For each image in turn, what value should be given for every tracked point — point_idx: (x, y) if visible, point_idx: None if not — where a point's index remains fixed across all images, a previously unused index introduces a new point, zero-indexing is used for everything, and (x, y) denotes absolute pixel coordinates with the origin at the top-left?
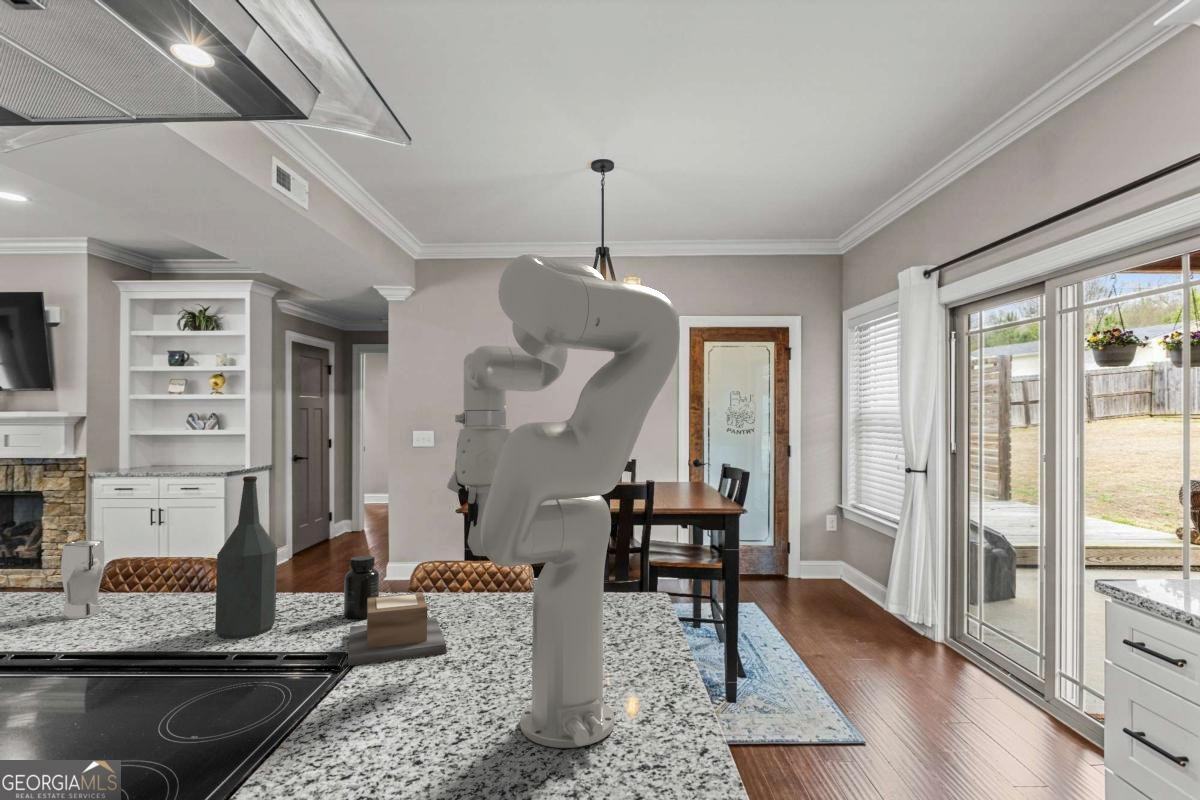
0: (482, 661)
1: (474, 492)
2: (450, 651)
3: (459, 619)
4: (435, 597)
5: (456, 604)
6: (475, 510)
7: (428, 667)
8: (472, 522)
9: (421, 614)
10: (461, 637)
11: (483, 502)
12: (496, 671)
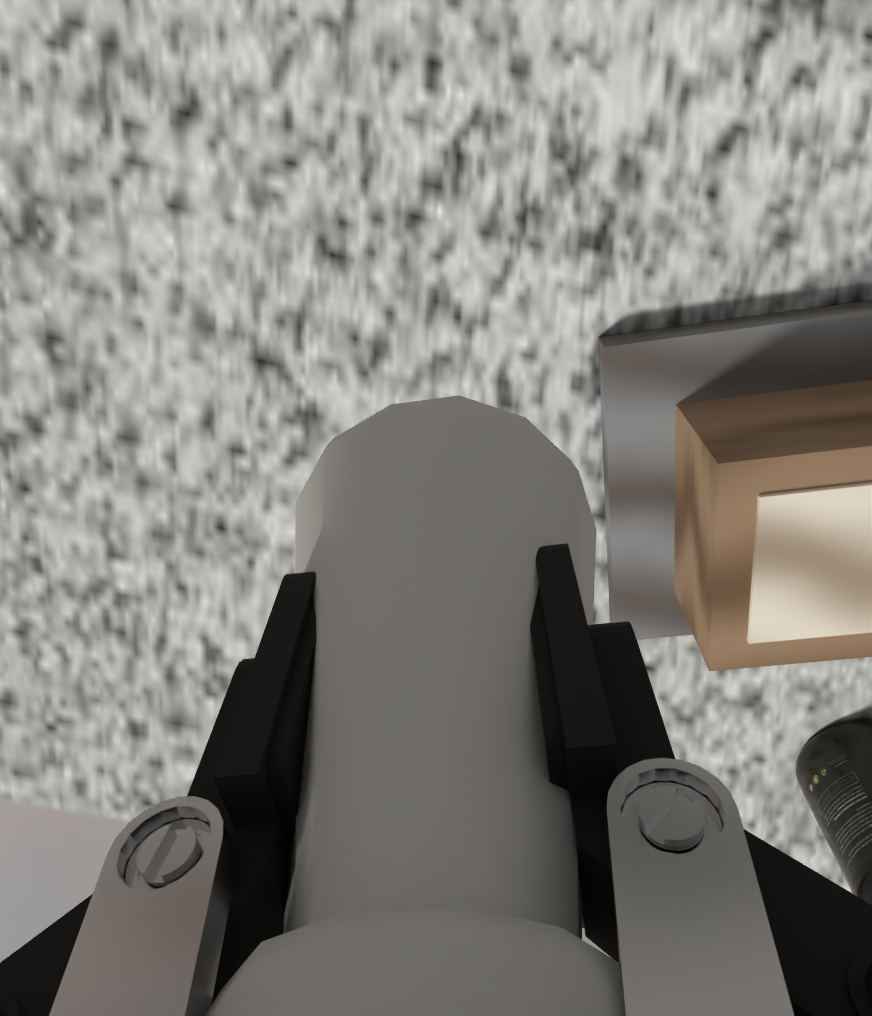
0: (460, 211)
1: (649, 955)
2: (579, 352)
3: None
4: None
5: None
6: (574, 668)
7: (680, 194)
8: None
9: (735, 446)
10: None
11: (455, 766)
12: (406, 77)
